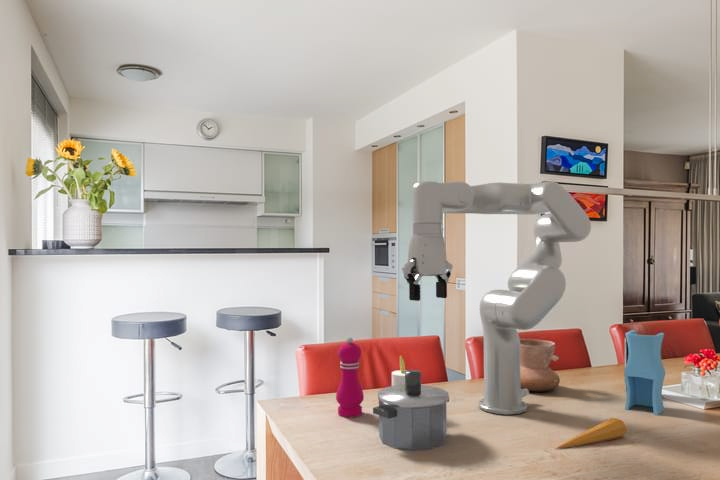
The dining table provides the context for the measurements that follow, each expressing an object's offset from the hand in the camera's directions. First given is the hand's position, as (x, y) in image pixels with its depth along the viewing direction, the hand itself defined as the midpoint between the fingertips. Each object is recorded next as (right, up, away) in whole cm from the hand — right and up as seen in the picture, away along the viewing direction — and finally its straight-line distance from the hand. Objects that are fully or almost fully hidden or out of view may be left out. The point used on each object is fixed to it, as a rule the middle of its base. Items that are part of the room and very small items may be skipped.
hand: (428, 299), depth 134 cm
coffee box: (+65, -30, +20) cm, 74 cm away
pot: (-5, -30, -13) cm, 33 cm away
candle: (-6, -31, +5) cm, 32 cm away
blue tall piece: (+58, -30, +7) cm, 66 cm away
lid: (-5, -23, -12) cm, 26 cm away
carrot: (+33, -30, -16) cm, 48 cm away
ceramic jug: (+36, -31, +29) cm, 55 cm away
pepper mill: (-20, -31, +5) cm, 37 cm away
